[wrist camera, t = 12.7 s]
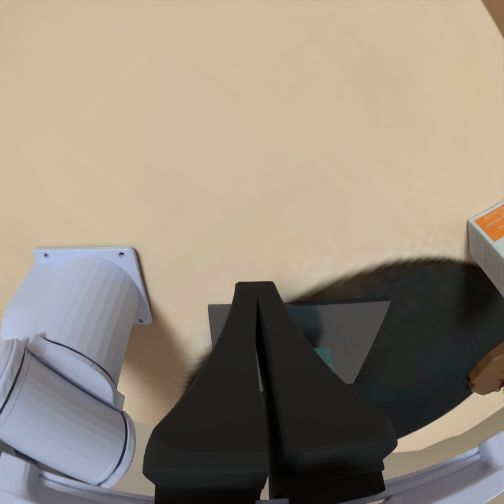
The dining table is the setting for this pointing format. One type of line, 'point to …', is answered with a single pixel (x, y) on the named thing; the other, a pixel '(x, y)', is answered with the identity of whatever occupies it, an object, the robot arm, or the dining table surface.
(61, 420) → the robot arm
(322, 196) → the dining table surface
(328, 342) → the dark grey square tile
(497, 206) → the skincare box
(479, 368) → the plant
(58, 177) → the dining table surface
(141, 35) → the dining table surface
